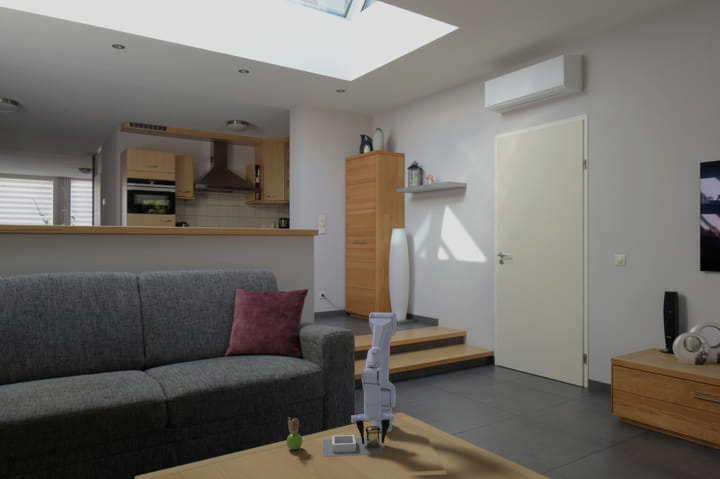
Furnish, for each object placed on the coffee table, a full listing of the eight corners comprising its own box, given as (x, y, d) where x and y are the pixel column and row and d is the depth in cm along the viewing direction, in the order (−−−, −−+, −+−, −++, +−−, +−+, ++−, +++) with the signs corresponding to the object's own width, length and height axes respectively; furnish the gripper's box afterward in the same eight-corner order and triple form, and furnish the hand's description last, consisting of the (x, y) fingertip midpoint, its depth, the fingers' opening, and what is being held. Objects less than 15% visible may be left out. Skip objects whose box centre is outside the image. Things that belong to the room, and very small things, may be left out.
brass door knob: (365, 443, 172) (364, 425, 172) (379, 442, 172) (379, 425, 172) (366, 449, 167) (366, 431, 167) (381, 448, 167) (380, 430, 167)
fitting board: (323, 442, 175) (323, 432, 175) (379, 440, 177) (379, 430, 177) (323, 459, 161) (323, 448, 161) (384, 457, 163) (384, 446, 163)
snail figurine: (282, 452, 168) (281, 416, 168) (291, 445, 174) (291, 410, 174) (296, 454, 166) (295, 418, 166) (305, 447, 172) (305, 412, 172)
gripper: (351, 407, 165) (352, 448, 165) (395, 405, 166) (395, 446, 166) (350, 400, 172) (351, 439, 172) (392, 399, 173) (392, 438, 173)
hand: (372, 442), depth 170 cm, fingers open, 6 cm apart
